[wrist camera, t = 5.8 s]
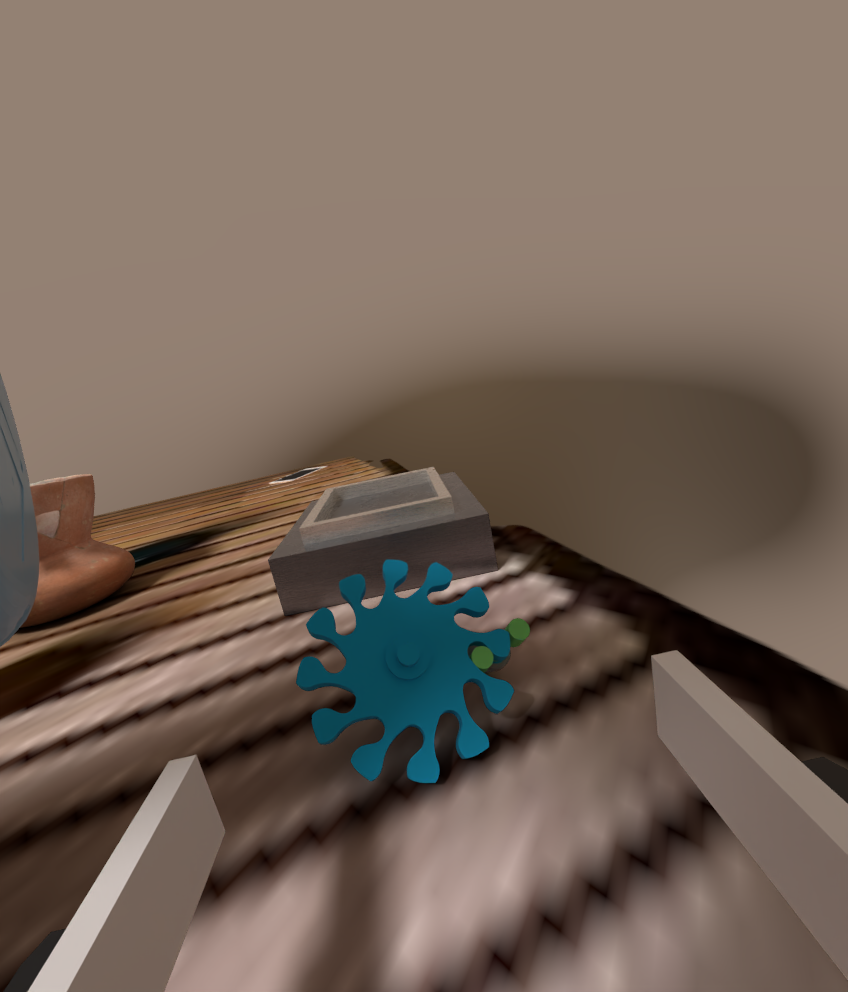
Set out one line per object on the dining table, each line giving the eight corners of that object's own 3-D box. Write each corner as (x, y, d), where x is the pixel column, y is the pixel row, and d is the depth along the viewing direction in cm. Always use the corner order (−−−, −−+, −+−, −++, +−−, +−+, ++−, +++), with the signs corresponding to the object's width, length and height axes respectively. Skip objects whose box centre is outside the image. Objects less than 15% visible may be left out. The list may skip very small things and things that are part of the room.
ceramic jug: (106, 622, 43) (53, 480, 40) (-71, 668, 40) (-142, 518, 37) (164, 564, 60) (130, 462, 57) (44, 594, 57) (2, 488, 54)
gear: (294, 810, 16) (293, 564, 22) (314, 805, 21) (309, 605, 27) (572, 756, 18) (508, 540, 23) (531, 763, 23) (486, 583, 28)
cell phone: (328, 467, 124) (328, 465, 124) (292, 482, 110) (292, 480, 110) (306, 470, 127) (305, 468, 127) (268, 485, 113) (268, 483, 113)
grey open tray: (284, 616, 36) (262, 542, 35) (321, 539, 56) (308, 489, 54) (497, 570, 37) (485, 495, 35) (460, 509, 56) (451, 460, 55)
